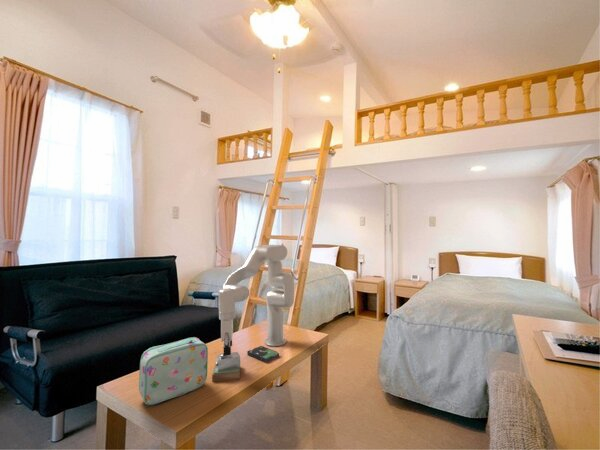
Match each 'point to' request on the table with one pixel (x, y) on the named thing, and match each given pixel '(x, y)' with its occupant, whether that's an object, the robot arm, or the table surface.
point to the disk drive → (263, 354)
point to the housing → (228, 361)
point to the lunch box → (172, 370)
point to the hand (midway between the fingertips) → (228, 350)
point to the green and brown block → (225, 374)
